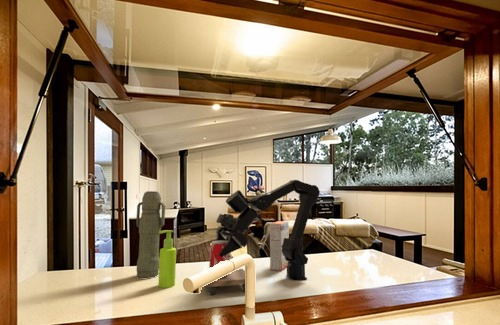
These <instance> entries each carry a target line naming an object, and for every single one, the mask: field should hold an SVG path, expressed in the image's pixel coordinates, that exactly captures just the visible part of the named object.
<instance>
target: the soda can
mask: <svg viewBox="0 0 500 325" xmlns="http://www.w3.org/2000/svg"><path fill="white" fill-rule="evenodd" d="M227 242H228V241H223V240H218V241H215V240H212V241H211V244H210V247H209V268H210V267H213V266H214V265H216V264H218V263H219V262H220V261H225V260H229V261H230V253H229V254H227V255H225V256H223V257H220V256H219V254H220V252H221V251H222V249H223V248H224V246H225V245H226V243H227ZM226 276H227V275H226ZM226 276H224V277H226ZM224 277H222V278H224Z"/></svg>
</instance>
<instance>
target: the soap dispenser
mask: <svg viewBox="0 0 500 325" xmlns="http://www.w3.org/2000/svg"><path fill="white" fill-rule="evenodd" d="M158 233H160V235H162V234H165V233H166V237H165V239H164V240H163V248H159V260H160V261H159V272H158V273H159V275H158V284H157V285H158V288H161V289H168V288H172V287H175V285H176V265H177V264H176V263H177V262H176V261H177V248H176V247H174V238H172V233H174V230H171V229H169V230H168V229H165V230H161V231H160V232H158Z"/></svg>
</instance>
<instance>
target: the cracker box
mask: <svg viewBox="0 0 500 325" xmlns="http://www.w3.org/2000/svg"><path fill="white" fill-rule="evenodd" d="M268 227H269V261H270V262H269V263H270V264H269V265H270V266H269V268H270V270H271V271H280V272H282V271H283V270H285V269H287V266H288V262H289V261H286V259H285V256H284V255H283V253H282V247H281V246H282V245H283V241H284V238H289V237H290V235H289V233H290V232H289V230H290V228H289V221H284V220H279V221H274V222H272V223H269V226H268Z"/></svg>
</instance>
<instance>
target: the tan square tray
mask: <svg viewBox="0 0 500 325" xmlns="http://www.w3.org/2000/svg"><path fill="white" fill-rule="evenodd" d="M238 269H239V270H236V271H234V272H232V273H231V274H228V275H227V276H226V277H224V278H220V279H218V280H217V281H214V282H212V283H210V284H208V285H205V287H207V292H208V294H209V295H210V296H214V295H216V293H217V292H218V287H224V286H225V287H226V286H237V285H241V288H242V290H243V291H244V292H246V291H245V271H246V270H245V269H244V268H238Z"/></svg>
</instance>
